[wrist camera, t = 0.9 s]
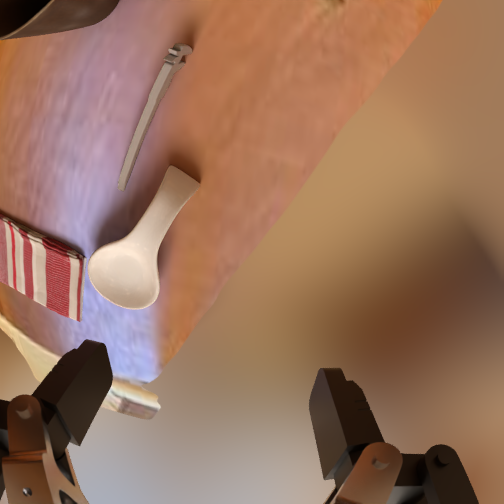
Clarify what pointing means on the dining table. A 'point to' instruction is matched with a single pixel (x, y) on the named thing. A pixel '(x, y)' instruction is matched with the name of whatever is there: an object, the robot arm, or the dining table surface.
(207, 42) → the dining table surface
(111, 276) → the spoon rest
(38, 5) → the plant pot
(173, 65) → the caliper
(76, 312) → the dish towel
